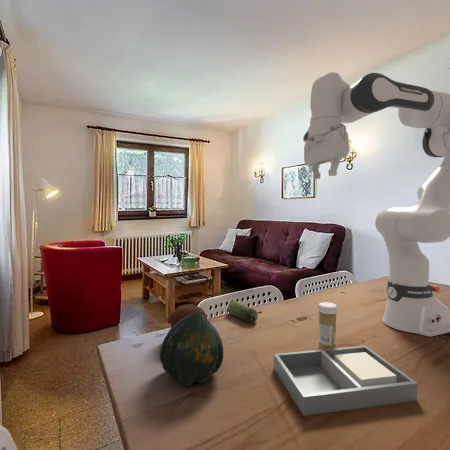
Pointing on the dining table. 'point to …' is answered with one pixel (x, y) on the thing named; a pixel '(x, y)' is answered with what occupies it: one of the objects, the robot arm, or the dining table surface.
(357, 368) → the cream rectangular block
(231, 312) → the vegetable
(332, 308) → the sprinkles bottle
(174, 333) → the squash
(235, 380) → the dining table surface
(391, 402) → the tray
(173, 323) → the muffin
